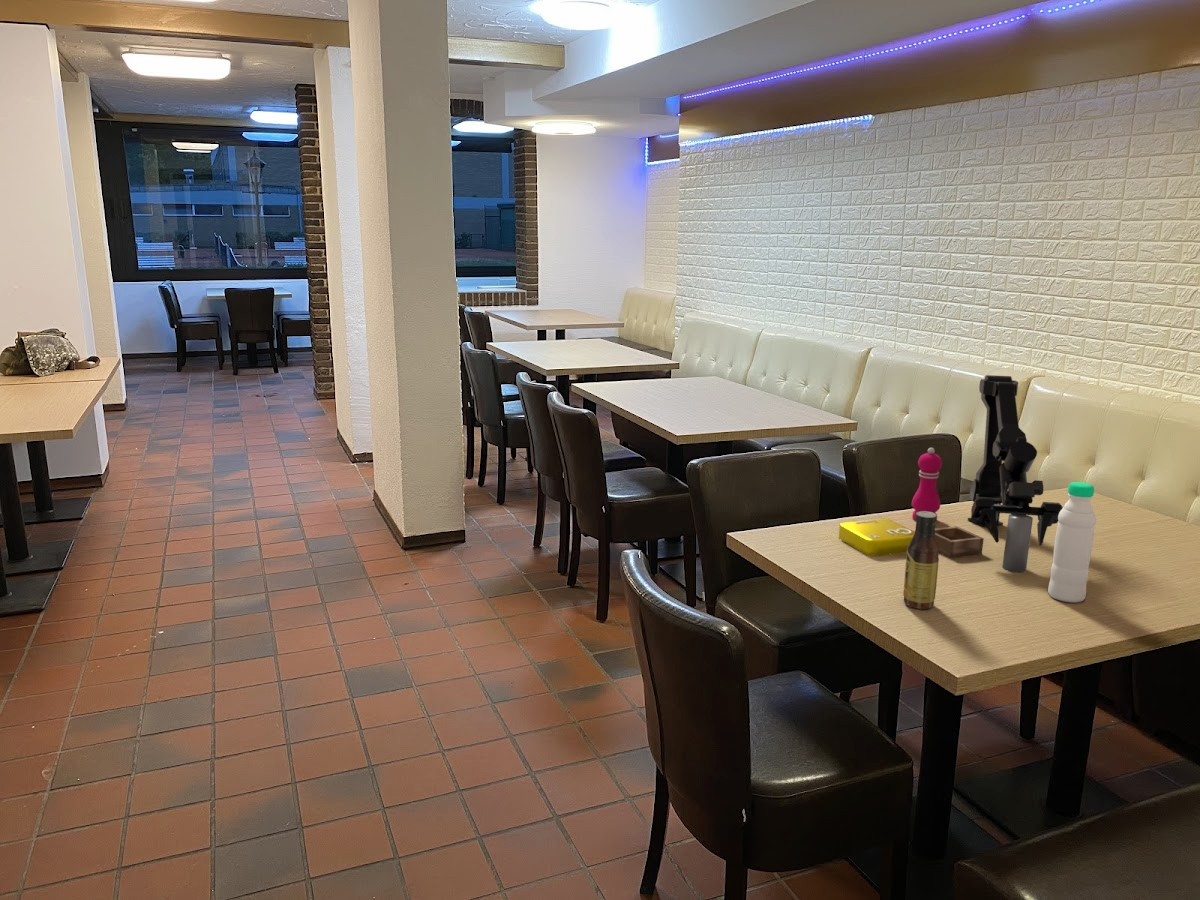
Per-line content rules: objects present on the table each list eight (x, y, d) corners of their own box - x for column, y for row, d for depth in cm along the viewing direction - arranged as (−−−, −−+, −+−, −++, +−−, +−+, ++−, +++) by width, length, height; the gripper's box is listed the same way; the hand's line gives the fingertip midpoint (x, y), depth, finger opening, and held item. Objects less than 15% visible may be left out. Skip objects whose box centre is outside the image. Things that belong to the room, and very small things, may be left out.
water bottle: (1083, 606, 186) (1100, 490, 181) (1045, 599, 190) (1061, 485, 184) (1086, 595, 192) (1102, 482, 186) (1049, 588, 196) (1064, 477, 190)
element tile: (885, 533, 233) (887, 515, 232) (922, 552, 219) (924, 533, 218) (835, 538, 228) (836, 520, 227) (870, 558, 214) (871, 539, 213)
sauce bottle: (909, 596, 191) (917, 506, 186) (938, 604, 187) (948, 512, 182) (897, 605, 186) (905, 513, 181) (927, 613, 182) (936, 520, 177)
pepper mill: (934, 516, 246) (941, 445, 241) (941, 524, 239) (949, 451, 234) (907, 515, 247) (914, 444, 242) (913, 523, 240) (920, 450, 235)
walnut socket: (954, 541, 226) (956, 526, 225) (981, 554, 217) (983, 538, 216) (923, 545, 223) (924, 529, 222) (949, 558, 214) (951, 542, 213)
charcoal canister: (1014, 563, 211) (1021, 512, 208) (1031, 571, 206) (1037, 519, 203) (997, 566, 209) (1003, 514, 206) (1013, 573, 204) (1020, 521, 201)
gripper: (979, 464, 208) (982, 524, 200) (1066, 469, 204) (1074, 530, 196) (969, 487, 217) (972, 546, 209) (1052, 493, 213) (1059, 552, 205)
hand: (1019, 543), depth 205 cm, fingers open, 9 cm apart
